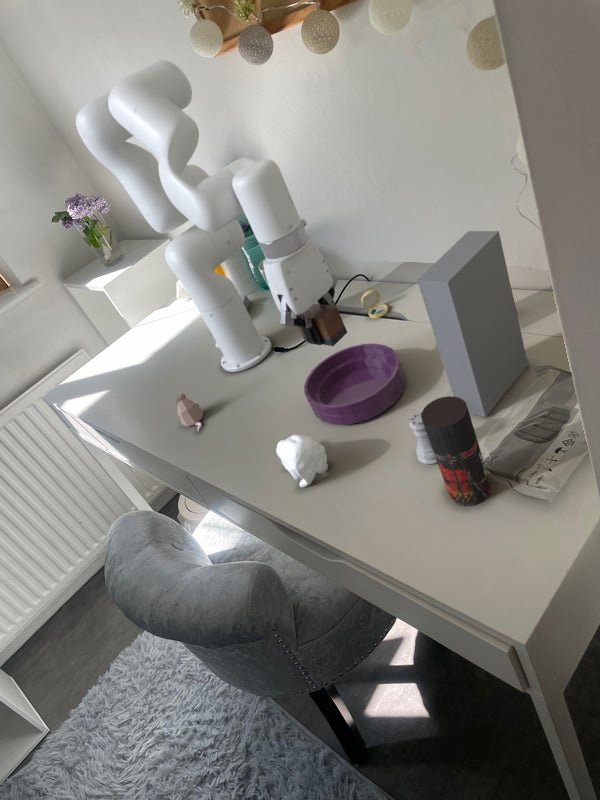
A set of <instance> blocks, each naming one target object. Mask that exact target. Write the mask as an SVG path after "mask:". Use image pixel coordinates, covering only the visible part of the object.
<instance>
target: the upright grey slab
mask: <svg viewBox="0 0 600 800" xmlns="http://www.w3.org/2000/svg"><path fill="white" fill-rule="evenodd" d="M416 281H417V284H418V287H419V290H420V293H421V296H422V300H423V302H424V303H423V304H424V306H425V310H426V313H427V316H428V320H429V323H430V325H431V329H432V332H433V334H434V338H435V341H436V345H437V348H438V351H439V354H440V357H441V360H442V363H443V367H444V371H445V373H446V376H447V379H448V383H449V386H450V389H451V392H452V397H458V398H461V399H462V400H464V401H465V402H466V404H467V407H468V411H469V414H470V415H476V416H479V417H483V418H486V417H488V415H489V414H490V413H491V411H492V410H493V409H494V407H495V406H496V405H498V403H499V401H500V400H501V399H502V398H503V397H504V395H505V394H506V393H507V392H508V390H509V389H511V387H512V385H514V383H515V382H516V381H517V379H518V378H519V377H520V376H521V375H522V374H523V372H524V371H525V370H526V369H527V368H528V366H529V365H530V362H529V358H528V357H527V354H526V349H525V345H524V339H523V336H522V330H521V327H520V322H519V318H518V313H517V308H516V303H515V299H514V294H513V291H512V290H513V289H512V286H511V280H510V276H509V271H508V268H507V263H506V258H505V253H504V249H503V244H502V240H501V234H500V231H499V230H468V231H467V232H466V233H464V235H462V237H461V238H459V240H457V241H456V242H455V243H454V244H453V245H452V246H450V248H449V249H448V250H447V251H446V252H445V253H443V255H442V256H440V257H439V258H438V260H436V261H435V263H433V264H432V265H431V266H430V267H429V268H428V269H427V270H426V271H424V273H423V274H422V275H421V276H419V278H418V279H416Z"/></svg>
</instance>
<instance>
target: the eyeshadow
mask: <svg viewBox="0 0 600 800" xmlns="http://www.w3.org/2000/svg"><path fill="white" fill-rule="evenodd" d="M380 299H381V295H380V293H379V291H378V290H376V289H368V290H367V291H365V292H364V293H363V295H362V296H361V299H360V302H361V305H362V306H363V307H364V308H365V309H369V310H368V313H367V314H368V317H369V318H371V319H379V318H381V317H384V316H385V315H386V314H387V313H388V312H389V307H388V305H387V304H384V303H382V304H379V302H380Z"/></svg>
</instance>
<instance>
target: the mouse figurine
mask: <svg viewBox="0 0 600 800" xmlns="http://www.w3.org/2000/svg"><path fill="white" fill-rule="evenodd" d="M174 402H175V403H177V417H178V418H179V420H180V422H181V425H183V426H185V427H192V426H194V425H195V426H197V432H200V429H201V428H202V427H203V425H202V423H201V421H202V419H203V417H204V411H203V409H202V408H201V407H200V403H195V402H194V401H192V400H191V399H189V398H187V395H186V394H185V393H183V392H182V393H181V394H180V395H179V396H175V397H174Z"/></svg>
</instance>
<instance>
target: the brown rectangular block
mask: <svg viewBox="0 0 600 800" xmlns="http://www.w3.org/2000/svg"><path fill="white" fill-rule="evenodd" d="M309 313H310V317H311V320H312V324H315V325H316V326H317V328H318V331H319V333H320V335H321V337H322V340H323V344H322V345H323V346H330V347H334V346H335V345H337V343H339V341H341V340H342V338H343V337H344V336H345V335H346V334H348V330H347V328H346V326H345V322H344V320H343V318H342V316H341V313H340V311H339V309H338V306H337V305H334V306H332V305H321V304H318V303H315V304H314V305H312V306H311V307H310V308H309ZM301 315H302V314H301ZM302 319H303V316H302ZM303 320H304V319H303ZM298 329H299V331H300V334H301V336H302V338H303V340H304V342H305V343H309V342H308V341H307V339H306V337H305V334H304V332H303V330H302V328H301V327H298Z"/></svg>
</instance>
